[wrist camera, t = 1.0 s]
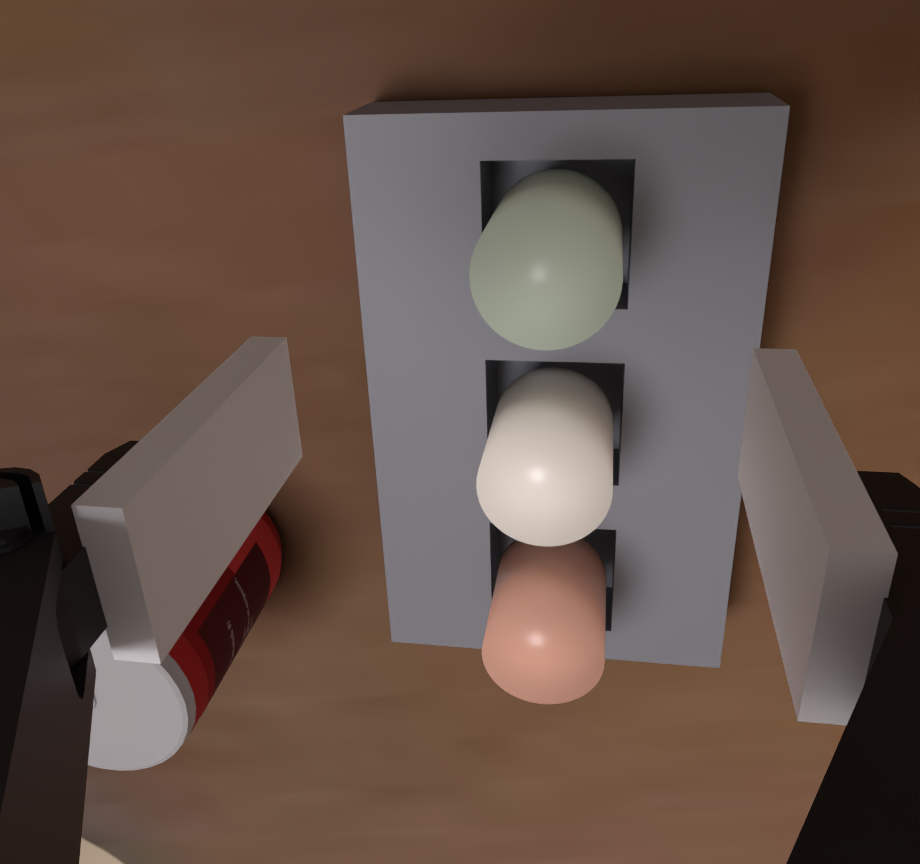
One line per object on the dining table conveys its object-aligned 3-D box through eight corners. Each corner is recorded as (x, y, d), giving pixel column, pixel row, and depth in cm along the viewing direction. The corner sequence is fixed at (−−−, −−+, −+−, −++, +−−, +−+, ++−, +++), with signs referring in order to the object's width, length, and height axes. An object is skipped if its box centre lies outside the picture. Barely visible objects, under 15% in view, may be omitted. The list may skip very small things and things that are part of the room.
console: (373, 101, 32) (342, 115, 28) (769, 92, 30) (790, 105, 26) (411, 586, 42) (391, 641, 38) (710, 607, 39) (719, 668, 36)
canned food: (105, 493, 42) (-48, 642, 33) (243, 453, 40) (122, 600, 30) (180, 615, 45) (60, 785, 35) (313, 584, 43) (223, 758, 33)
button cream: (494, 365, 32) (474, 425, 27) (615, 368, 31) (615, 431, 27) (496, 470, 34) (478, 542, 29) (611, 475, 33) (610, 550, 28)
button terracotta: (497, 527, 35) (480, 604, 30) (608, 533, 34) (606, 613, 30) (499, 613, 37) (483, 698, 32) (604, 621, 36) (602, 709, 32)
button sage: (489, 169, 28) (466, 201, 24) (625, 167, 28) (626, 200, 23) (492, 297, 30) (471, 348, 26) (619, 299, 30) (619, 352, 25)
